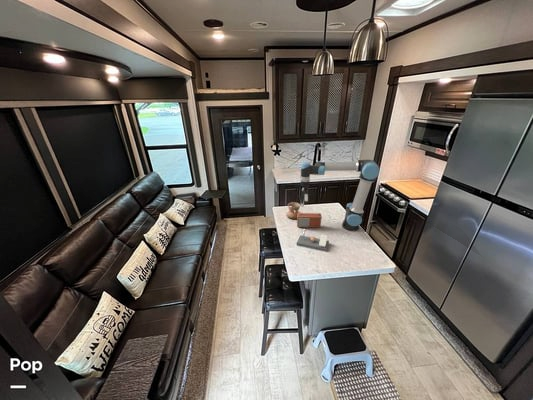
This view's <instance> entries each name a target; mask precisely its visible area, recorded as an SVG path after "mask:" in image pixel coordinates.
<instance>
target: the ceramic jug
mask: <svg viewBox="0 0 533 400" xmlns="http://www.w3.org/2000/svg"><path fill="white" fill-rule="evenodd" d="M300 207H301V203H298V202H293V201H292V202H289V203H288V204H287V208H288V211H287V213H286V217H287V218H288V219H291V220H297V213H301V211H299V210H300Z"/></svg>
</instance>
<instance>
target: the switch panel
mask: <svg viewBox="0 0 533 400" xmlns="http://www.w3.org/2000/svg"><path fill="white" fill-rule="evenodd" d="M311 237H312V236H311ZM311 237H310V236H306V235H304V239H303V235H299V237H298V238H297V241H296V246H298V247H303V248H309V249H313V250H316V251H322V252H327V251H328V247H329V244H330V240H327V241H326V246H325V247H322V246H319V242H320V238H316V237H315V238H316V241H314V242H313V241H311Z"/></svg>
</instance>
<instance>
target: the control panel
mask: <svg viewBox="0 0 533 400" xmlns="http://www.w3.org/2000/svg"><path fill="white" fill-rule="evenodd" d="M322 218H323V217H322V213H320V212H316V213H315V212H314V213H312V212H310V213H309V212H300V213H297V219H296V227H297V228H321V226H322V225H321V223H322Z"/></svg>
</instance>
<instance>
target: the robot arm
mask: <svg viewBox="0 0 533 400" xmlns="http://www.w3.org/2000/svg"><path fill="white" fill-rule="evenodd" d="M326 171H327V172H329V171H330V172H332V171H336V172H337V171H338V172H340V171H341V172H342V171H344V172H345V171H348V172H349V171H351V172H352V171H354V172H355V171H356V172H359V176H358V178H359V180H360V181H359V183H358V185H357V189H356V193H355V195H354V198H353V201H352V202H349V203H347V204H346V207H345V208H346V209H345V215H344V220H343V222H342V224H341V226H342V228H343V229H344V230H347V231H352V232H354V231H358V230H359V229H360V225H361V224H362V222H363V215H364V213H365V211H364V206H365V203H366V201H367V197H368V194H369V192H370V190H371V187H372V183H374V182H375V181H376V179H377V177H378V176H379V174H380V167H379V165H378V164H377V163H376V162H375V161H374V160H373V159H357V160H356V161H354V160H353V161H319V160H318V161H317V162H315V163H314V165H311V162H307V161H305V162H301V165H300V186H301V187H302V188H301V190H300V197H299V200H300V207H301V208H304V207H305V202H308V201H309V194H310V192H309V186H310V181H311V175H315V176H324V175H325V174H326V173H325V172H326Z"/></svg>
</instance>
